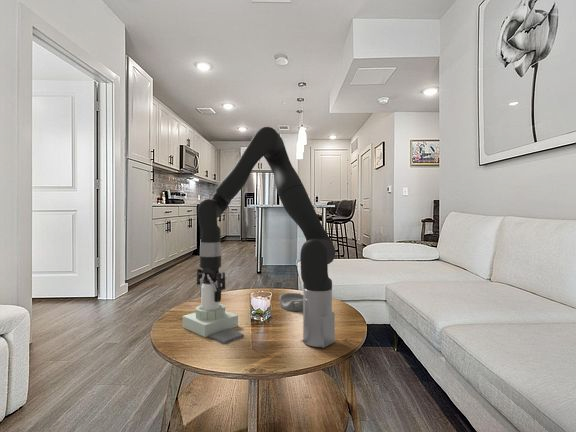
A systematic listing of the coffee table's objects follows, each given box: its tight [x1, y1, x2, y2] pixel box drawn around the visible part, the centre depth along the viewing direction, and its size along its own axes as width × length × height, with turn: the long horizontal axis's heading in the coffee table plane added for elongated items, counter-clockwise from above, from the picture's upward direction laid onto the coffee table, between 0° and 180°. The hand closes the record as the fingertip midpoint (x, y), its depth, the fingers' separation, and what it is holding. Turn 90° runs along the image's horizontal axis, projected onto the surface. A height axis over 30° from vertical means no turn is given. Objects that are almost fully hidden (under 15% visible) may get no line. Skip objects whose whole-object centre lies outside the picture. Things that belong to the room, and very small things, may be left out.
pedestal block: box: [182, 303, 239, 338], centre depth 113 cm, size 14×14×7 cm
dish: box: [279, 292, 303, 312], centre depth 137 cm, size 14×14×5 cm
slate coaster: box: [208, 328, 245, 345], centre depth 103 cm, size 8×8×1 cm
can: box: [200, 281, 221, 311], centre depth 113 cm, size 6×6×12 cm
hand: (210, 299), depth 113 cm, fingers open, 8 cm apart
